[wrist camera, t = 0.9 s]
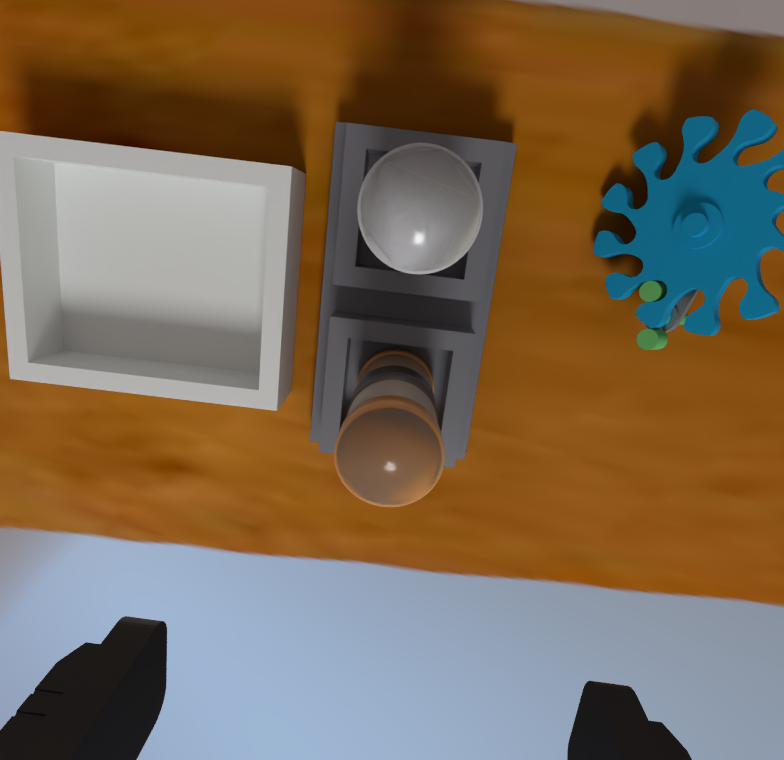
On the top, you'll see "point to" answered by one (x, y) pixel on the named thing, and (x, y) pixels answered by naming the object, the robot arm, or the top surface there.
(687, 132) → the gear
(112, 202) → the parts tray
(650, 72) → the top surface
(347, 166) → the fuse block
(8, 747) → the robot arm
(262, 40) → the top surface
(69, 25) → the top surface
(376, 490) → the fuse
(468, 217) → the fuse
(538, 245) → the top surface
